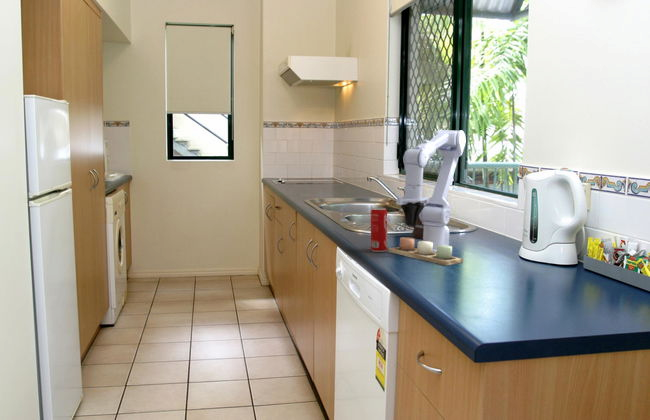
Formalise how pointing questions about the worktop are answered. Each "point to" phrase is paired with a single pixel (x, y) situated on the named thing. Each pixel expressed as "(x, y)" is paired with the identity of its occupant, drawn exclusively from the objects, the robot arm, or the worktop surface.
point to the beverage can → (378, 229)
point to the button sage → (444, 251)
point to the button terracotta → (407, 243)
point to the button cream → (425, 247)
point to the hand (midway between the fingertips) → (411, 225)
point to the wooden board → (426, 256)
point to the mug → (417, 228)
